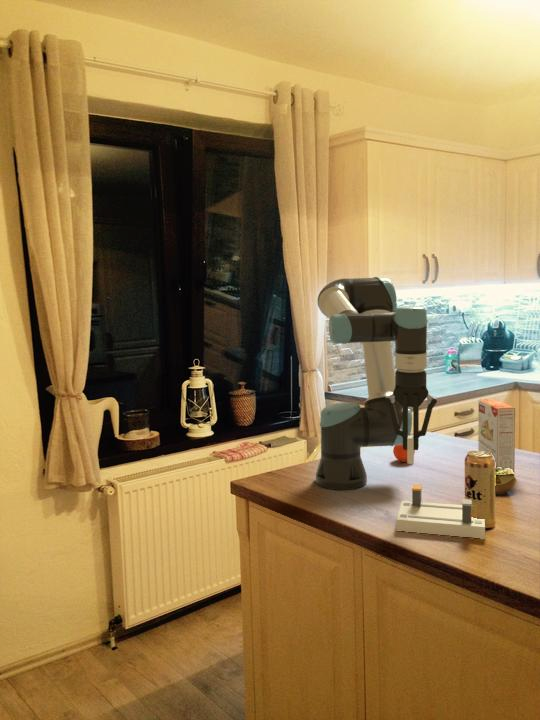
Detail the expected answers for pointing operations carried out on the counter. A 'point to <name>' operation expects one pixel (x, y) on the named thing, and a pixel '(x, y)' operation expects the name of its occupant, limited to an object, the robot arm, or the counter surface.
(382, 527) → the counter surface
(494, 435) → the cracker box
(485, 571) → the counter surface
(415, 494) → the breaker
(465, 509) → the on breaker
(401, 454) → the clementine
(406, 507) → the white flat slotted block
